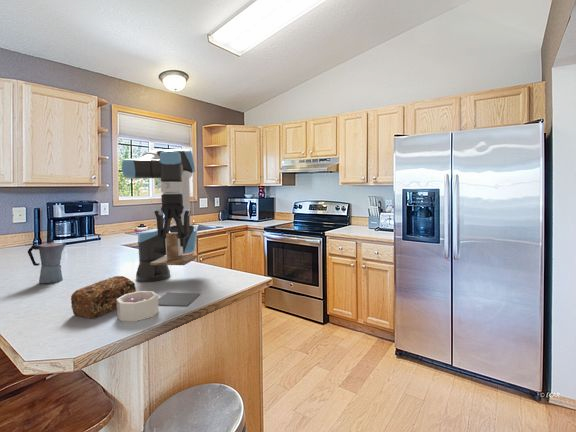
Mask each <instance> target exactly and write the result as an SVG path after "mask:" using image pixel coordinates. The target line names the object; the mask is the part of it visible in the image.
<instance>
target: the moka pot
mask: <svg viewBox="0 0 576 432" xmlns="http://www.w3.org/2000/svg"><path fill="white" fill-rule="evenodd" d="M53 241H54V239H53V238H49V239H48V242H47V243H41V244H37V245H35V244H32V245H31V246H30V248H29V249H28V250H27V254H28V256H29V258H30V261H31V263H32V265H33V266H35V267H36V266H37V267H38V266H40V265H41V268H40V272H39V279H38V283H40V284H54V283H59V282H62V281H63V280H64V279H63V272H62V265H61V260H62V254H63V251H64V248H65V246H67V244H66V243H64V242H63V243H61V242H60V243H59V242H53ZM33 250H38V251H39V257H40V262H41V264H40V263H37V261H35V258H34V255H33V253H32V251H33Z"/></svg>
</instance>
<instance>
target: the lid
mask: <svg viewBox="0 0 576 432" xmlns="http://www.w3.org/2000/svg"><path fill="white" fill-rule="evenodd" d="M178 238H179V234H178V232H170V233H167V234H166V242H167V256H166V255H165V256H164V257H162V258H159V259H157V260H155V261H153V262H150V265H168V266H186V265H188V264H189V263H191V262H192V261H195V260H196V259H197V258H199V255H197V254H196V255H195V254H193V255H188V254H183V255H180V256H178V240H177V239H178Z"/></svg>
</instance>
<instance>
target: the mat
mask: <svg viewBox="0 0 576 432" xmlns="http://www.w3.org/2000/svg"><path fill="white" fill-rule="evenodd" d="M200 295H201V293H199V292H169V291H168V292H166V293H165V294H163V295H161V296H160V297H158V306H160V307H161V306H162V307H163V306H167V307H169V306H170V307H188V306H189V305H191V303H192V302H194V301H195V300H196V299H197V298H198V297H199V296H200Z"/></svg>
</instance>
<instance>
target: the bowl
mask: <svg viewBox="0 0 576 432" xmlns="http://www.w3.org/2000/svg"><path fill="white" fill-rule="evenodd" d="M158 299H159V295H158V293H156V291H152V290H149V291H148V290H138V291H136V292H133V293H128V294H125V295H123V296H121V297H119V298H118V299H116V300H117V309H116V312H117V313H116V315H117V318H118V319H119V320H120V322H139V321H143V320H145V318H147V319H150V318H149V317H151V318H153V317H154V316H155V315H156V314H158V313H159V312H160V310H159V305H158ZM153 315H154V316H153ZM142 319H143V320H142ZM138 320H139V321H138Z"/></svg>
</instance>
